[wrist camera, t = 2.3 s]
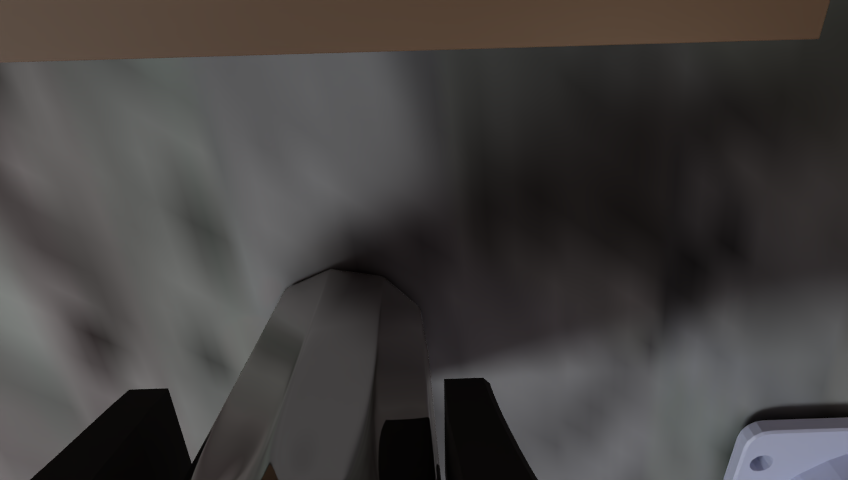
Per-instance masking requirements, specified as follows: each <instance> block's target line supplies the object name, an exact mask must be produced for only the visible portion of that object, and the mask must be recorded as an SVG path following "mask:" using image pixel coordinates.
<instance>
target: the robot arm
mask: <svg viewBox="0 0 848 480" xmlns="http://www.w3.org/2000/svg"><path fill="white" fill-rule="evenodd" d="M444 400H445V476H446V480H538V479H537V478H536V476H535V474H534V473H533V471H532V469H531V468H530V466H529V464H528V462H527V461H526V459H525V457H524V455H523V453H522V452H521V450H520V448H519V446H518V444H517V442H516V440H515V438H514V437H513V435H512V433H511V431H510V429H509V427H508V425H507V423H506V421H505V419H504V417H503V415H502V412H501V410H500V408H499V406H498V403H497V401H496V399H495V396H494V394H493V391H492V389H491V386H490V383H489V382H487V381H486V380H485V379H484V378H463V379H444ZM191 465H192V463H191V460H190V457H189V454H188V451H187V447H186V444H185V441H184V438H183V435H182V431H181V428H180V425H179V422H178V419H177V415H176V412H175V409H174V406H173V403H172V399H171V396H170V393H169V390H168V389H138V390H129V391H127V392H126V393H125V394H124V395H123V396H122V397H120V398H119V399H118V400H117V401H116V402H115V403H114V404H113V405H111V406H110V407H109V408H108V409H107V410H106V411H105V412H104V413H103V414H102V415H100V416H99V417H98V418H97V419H96V420H95V421H94V422H93V423H92V424H91V425H90V426H88V427H87V428H86V429H85V430H84V431H83V432H82V433H81V434H80V435H79V436H78V437H77V438H76V439H74V440H73V441H72V442H71V443H70V444H69V445H68V446H67V447H66V448H65V449H64V450H63V451H61V452H60V453H59V454H58V455H57V456H56V457H55V458H54V459H53V460H52V461H50V462H49V463H48V464H47V465H46V466H45V467H44V468H43V469H42V470H40V471H39V472H38V473H37V474H36V475H35V476H34V477H33V478H32V479H31V480H183V479H184V478H185V476H186V474H187V472H188V470H189V469H190V467H191ZM723 480H848V417H844V418H815V419H786V420H762V421H756V422H753V423H751V424H749V425H747V426H746V427H744V428H743V429H742V430H741V432H740V433H739V435H738V437H737V440H736V443H735V446H734V449H733V452H732V455H731V458H730V461H729V464H728V467H727V470H726V473H725V476H724V479H723Z"/></svg>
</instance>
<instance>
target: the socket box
mask: <svg viewBox="0 0 848 480" xmlns="http://www.w3.org/2000/svg"><path fill="white" fill-rule="evenodd" d="M829 3H830V0H0V63H1V62H36V61H70V60H105V59H140V58H174V57H209V56H243V55H278V54H312V53H347V52H381V51H416V50H451V49H485V48H520V47H554V46H589V45H623V44H658V43H693V42H727V41H762V40H796V39H819V37H820V34H821V30H822V27H823V23H824V20H825V16H826V13H827V10H828V6H829Z"/></svg>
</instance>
